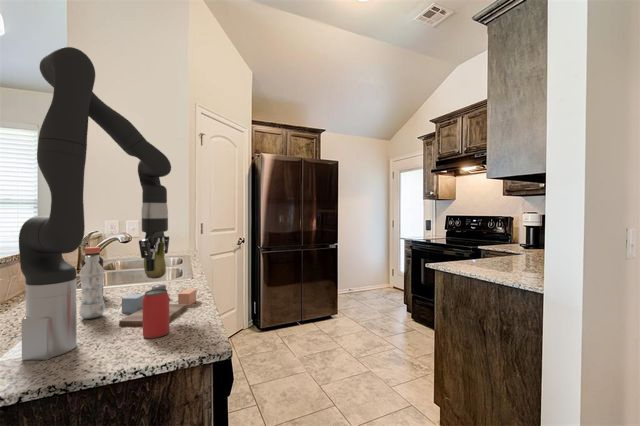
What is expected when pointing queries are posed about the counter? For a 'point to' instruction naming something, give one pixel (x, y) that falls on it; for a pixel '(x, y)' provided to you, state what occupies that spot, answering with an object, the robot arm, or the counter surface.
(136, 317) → the walnut board
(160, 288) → the grey rounded capsule
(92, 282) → the plastic bottle
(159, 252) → the fennel bulb
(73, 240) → the robot arm
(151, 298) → the beer can
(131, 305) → the smoky blue cube
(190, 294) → the terracotta block
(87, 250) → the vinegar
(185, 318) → the counter surface
